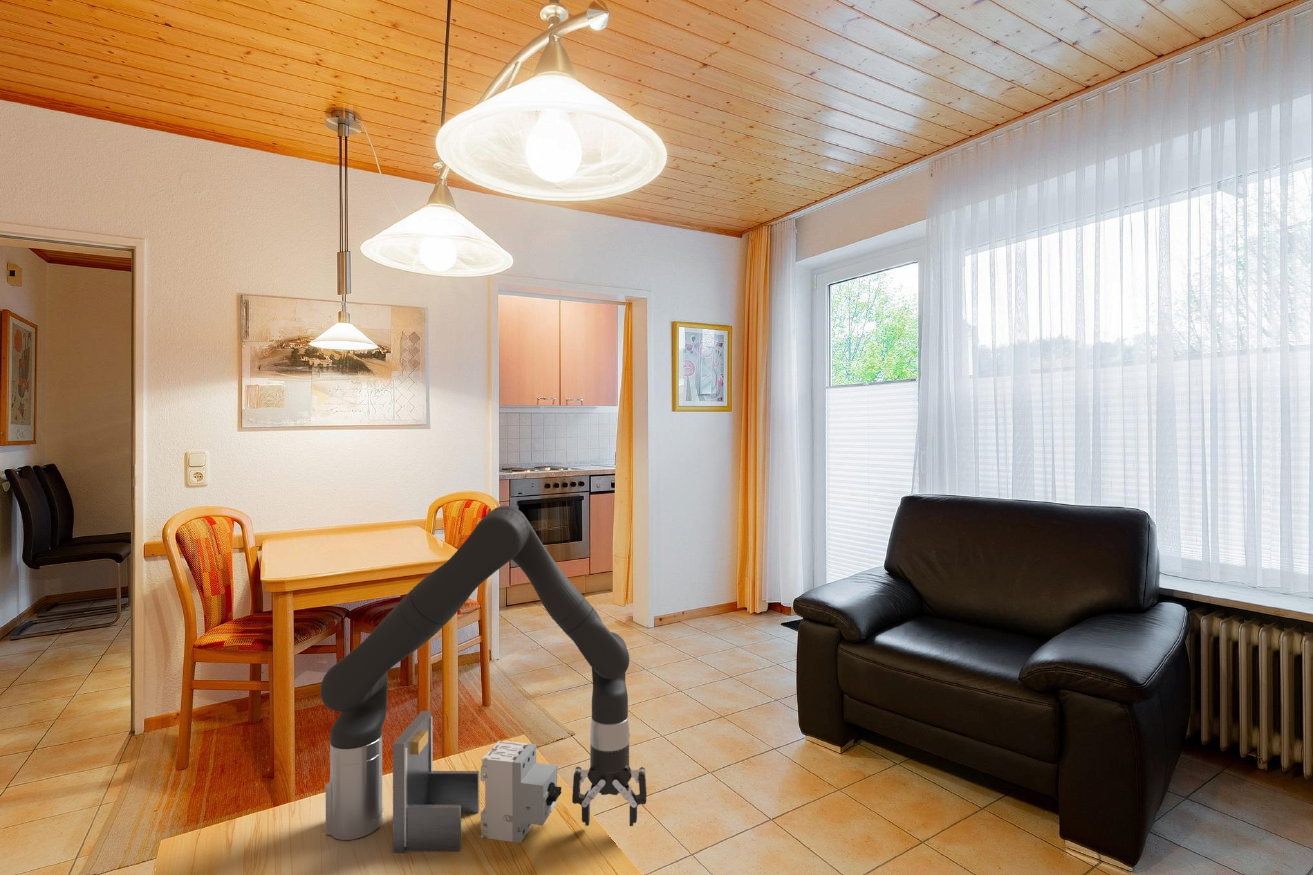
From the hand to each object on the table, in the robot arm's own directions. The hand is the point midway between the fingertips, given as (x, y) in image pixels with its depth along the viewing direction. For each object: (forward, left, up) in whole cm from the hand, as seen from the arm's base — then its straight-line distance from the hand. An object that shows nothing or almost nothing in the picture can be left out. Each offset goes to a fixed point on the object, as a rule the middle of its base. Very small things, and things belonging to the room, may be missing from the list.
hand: (609, 823), depth 124 cm
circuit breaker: (-17, 0, -2) cm, 17 cm away
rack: (-34, 0, -1) cm, 34 cm away
